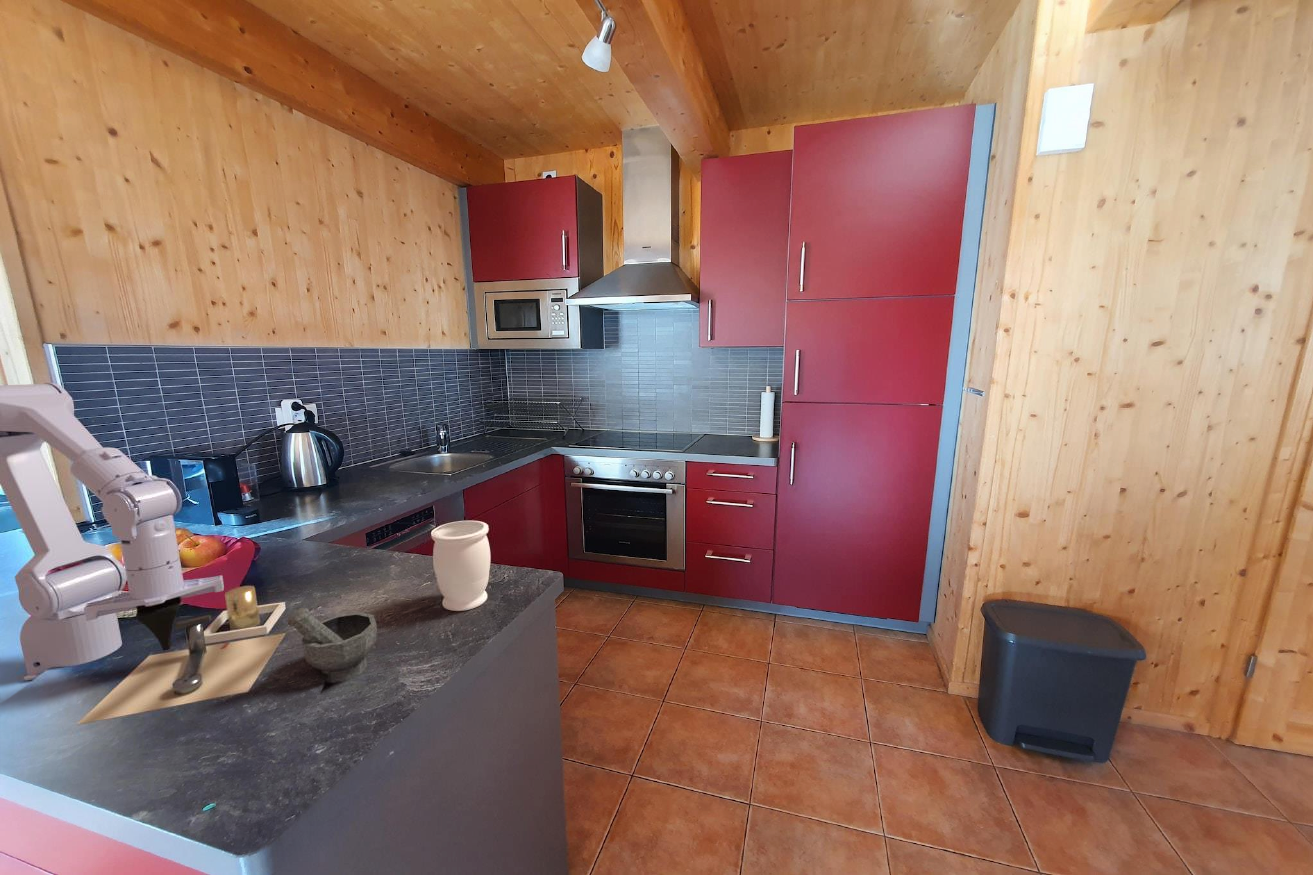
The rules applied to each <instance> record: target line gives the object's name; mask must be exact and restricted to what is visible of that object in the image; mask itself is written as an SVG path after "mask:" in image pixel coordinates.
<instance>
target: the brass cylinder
mask: <svg viewBox="0 0 1313 875" xmlns="http://www.w3.org/2000/svg"><path fill="white" fill-rule="evenodd" d="M224 598H225V599H224V600H225V604H226V610H227V611H228V617H229V619H228V622H229V628H230V631H232V630H238V629H245V628H251V627H257V626H258V625H260V623H261V619H260V614H259V612H258V606H259V605H258V601H257V593H256V587H255V586H254V585H244V586H239V587H235V588H232V589H229V590H228V591H226V592H225V593H224Z"/></svg>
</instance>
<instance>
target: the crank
mask: <svg viewBox="0 0 1313 875" xmlns="http://www.w3.org/2000/svg"><path fill="white" fill-rule="evenodd" d="M211 617H212V616H211V614H207V615H203V616H197V617H195V618H194V617H193V618H190V619H185V620H181V621H177V622H175V623H174V624H173V626H174V630H175V631H178V630H182V629H184V632H185V637H186V638H185V639H186V644H187V649H188V650H189V658H188V661H187V664H186V667H185V670H184V673H183V676H182V677H181V678H179V679H177V680H176V681H174V682H173V684H172V685H173V691H174V694H176V695H181V694H186V693H189V692H192V691H194V690H196V689H198V688H199V687H200V686H201V685H202V684H203V681H202V675H201V674H200V669H201V665H202V662H203V658H204V654H205V653H206V652H207V650H206V646H207V644H206V643H205V637H204V631H205V630H204V626H203V624H207V623H210V622H211V620H212V618H211Z"/></svg>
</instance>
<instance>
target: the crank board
mask: <svg viewBox="0 0 1313 875" xmlns="http://www.w3.org/2000/svg"><path fill="white" fill-rule="evenodd" d="M286 634H287V633H286V632H284V633H279V634H272V635H266V636H259V637H254V638H249V639H242V640H237V641H236V640H235V641H230V642H225V643H224V642H223V643H216V644H212V645H206V650H207V652H206V653H205V654H204V658H203V662H202V665H201V669H200V674H201V675H202V681H203V684H202V685H201V686H200V687H199V688H198V689H196V690H194V691H192V692H189V693H186V694H181V695H176V694H174V691H173V685H172V684H173V682H174V681H176V680H177V679H179V678H181V677H182V676H183V673H184V670H185V667H186V664H187V661H188V658H189V650H188V648H186V649H181V650H176V651H175V650H174V651H169V652H164V653H156V654H149V655H148V656H147V657H146V658H145V659H144V660H143V661H142V662H141V663H140V664H139V665H137V667H135V669H134V670H132V671H131V672H130V673H129V674H128V675H127V676H126V677H125V678H124V679H123V680H122V681H121V682H119V683H118V685H116V686H115V687H114V688H113V689H112V690H111V691H110V692H109V693H108V694H107V695H106V696H105V697H104V698H103V699H102V700H100V701H99V703H98V704H96V705H95V706H94V707H93V708H92V709H91V710H90V711H88V712H87V714H86V715H85V716H83V717H82V718H81V719H80V720H79V721H78V722H77V723H76V724H75V726H79V725H84V724H89V723H95V722H99V721H104V720H110V719H114V718H120V717H121V718H122V717H125V716H130V715H137V714H140V713H145V712H146V713H147V712H151V711H156V710H161V709H166V708H171V707H176V706H181V705H187V704H193V703H197V702H203V701H207V700H212V699H218V698H223V697H227V696H229V697H230V696H233V695H239V694H242V693H248V692H249V691H250V689H251V688H252V686H253V685H254V683H255V682H256V680H257V679H258V677H259V676H260V675H261V673H262V671H263V669H264V668H265V666H266V665H267V663H268V662H269V661H270V659H271V657H272V656H273V654H274V652H275V651H276V649H277V648H278V646H279V645H280V644H281V642H282V640H283V638H284V637H285V636H286Z"/></svg>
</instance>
